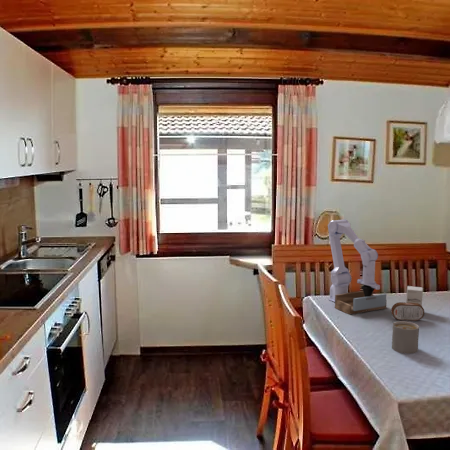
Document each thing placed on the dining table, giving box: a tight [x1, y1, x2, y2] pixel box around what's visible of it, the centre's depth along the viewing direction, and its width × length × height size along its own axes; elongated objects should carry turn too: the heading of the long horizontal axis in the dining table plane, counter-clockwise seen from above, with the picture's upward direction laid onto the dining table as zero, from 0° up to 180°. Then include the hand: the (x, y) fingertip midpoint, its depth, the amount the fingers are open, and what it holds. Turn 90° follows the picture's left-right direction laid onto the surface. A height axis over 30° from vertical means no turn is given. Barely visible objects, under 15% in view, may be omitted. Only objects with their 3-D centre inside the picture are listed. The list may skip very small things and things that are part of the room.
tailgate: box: [353, 293, 387, 311], centre depth 250 cm, size 2×20×6 cm, turn 115°
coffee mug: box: [391, 320, 420, 355], centre depth 204 cm, size 13×10×10 cm
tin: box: [390, 301, 425, 322], centre depth 238 cm, size 15×3×8 cm, turn 84°
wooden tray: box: [334, 290, 387, 315], centre depth 257 cm, size 12×24×7 cm, turn 115°
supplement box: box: [405, 285, 424, 307], centre depth 249 cm, size 7×7×13 cm
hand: (367, 300), depth 252 cm, fingers closed
